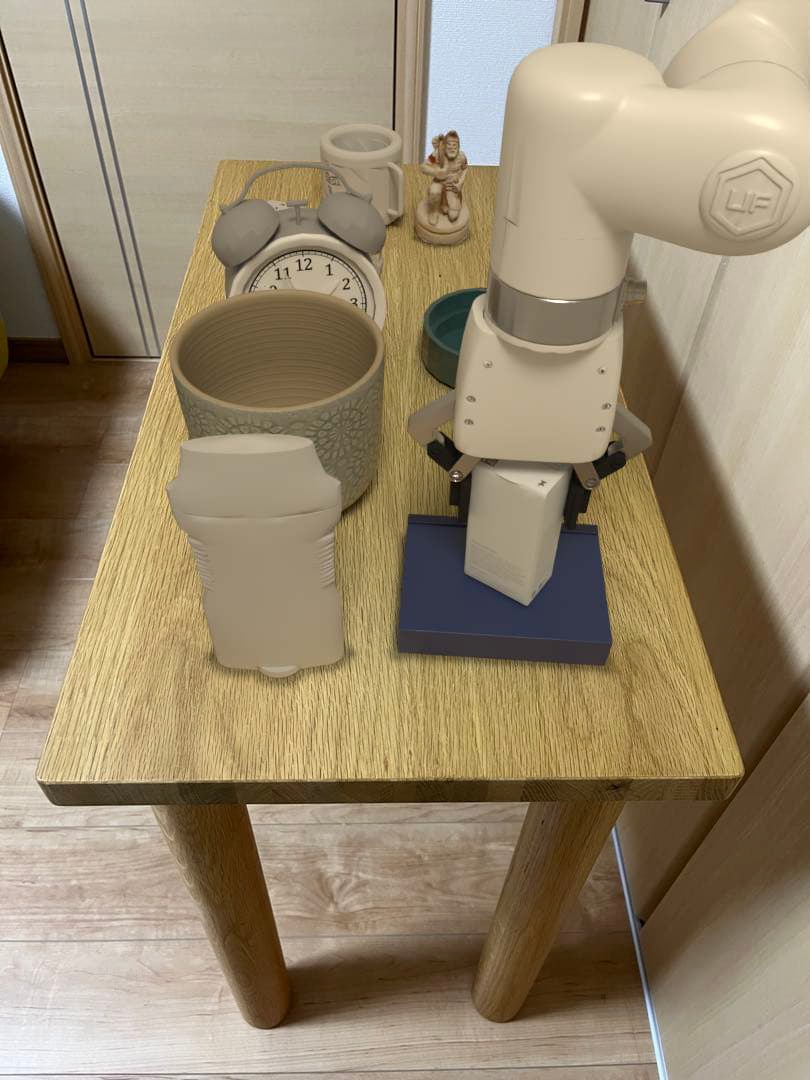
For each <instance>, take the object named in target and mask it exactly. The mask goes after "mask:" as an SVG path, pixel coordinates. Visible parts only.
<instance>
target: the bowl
mask: <svg viewBox="0 0 810 1080" xmlns="http://www.w3.org/2000/svg"><path fill="white" fill-rule="evenodd" d="M486 289H487V287H471V288H463V289H458V290H455V291H452V292H449V293H446V294H444V295H442V296H440V297H439V298H437V299H436V300H434V301H433V302H431V303H430V304H429V306H428V307H427V309H425V311H424V313H423V322H422V339H421V341H422V343H421V359H422V361H423V363H424V365H425V367H426V369H427V370H428V372H430V373H431V374H432V375H433V376H434V377H435V378H436V379H437V380H439V382H441V383H444V384H446V385H448V386H450V387H451V388H454V389H455V384H456V377H457V369H458V362H459V356H460V350H461V345H462V339H463V334H464V331H465V327H466V323H467V319H468V316H469V313H470V310H471V307H472V304H473V302H474V300H475V299H476V298H477V297H478V296H480V295H482V294H485V293H486Z"/></svg>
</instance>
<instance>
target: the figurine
mask: <svg viewBox="0 0 810 1080" xmlns="http://www.w3.org/2000/svg"><path fill="white" fill-rule="evenodd" d="M460 143H461V142H460V137H459V134H458V133H457V131H456V130H453V129H451V130H450V131H448V132H446V134H445V135H444V134H443V133H439V134H438V135H435V136H434V137H432V138H431V145H432V148H433V151H432V152H431V153H430V154H429V155H428V156H427V158H426V159H425V160H424V161H423V162H422V163H421V164H420V167H419V168H420V169H419V170H420V172H421V173H422V174H423V175H425V176H430V177H433V179H432V181H431V183H430V184H429V185H428V187H427V191H426V192H427V196H426V197H423V198H422V199H421V200H420V201H419V203H418V205H417V206H416V211H415V223H414V227H415V229H414V230H415V231H416V233H417V236H418V237H419V238H420V240H421V241H423V242H425V243H427V244H431V245H432V244H433V245H435V246H437V245H438V246H439V245H440V246H454V245H457V244H459V243H462V242H463V241H464V240H466V239H467V238H468V233H469V224H470V210H469V207H468V205H467V203H465V201H463V192H462V190H463V187H464V184H465V182H466V179H467V176H468V173H469V171H470V170H469V169H470V168H469V165H468V164H469V163H468V158H467V156H466V153H465V152H464V151H462V150H461V149H460V148H461V145H460Z"/></svg>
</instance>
